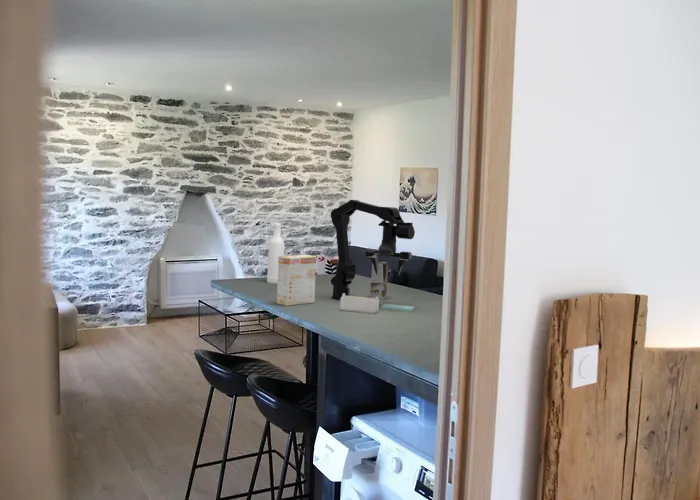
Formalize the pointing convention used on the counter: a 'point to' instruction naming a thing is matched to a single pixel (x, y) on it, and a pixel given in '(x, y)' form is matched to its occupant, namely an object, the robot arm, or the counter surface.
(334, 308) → the counter surface
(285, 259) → the coffeecake box
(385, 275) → the coffee box
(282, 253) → the bottle
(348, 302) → the tub
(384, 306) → the lid
